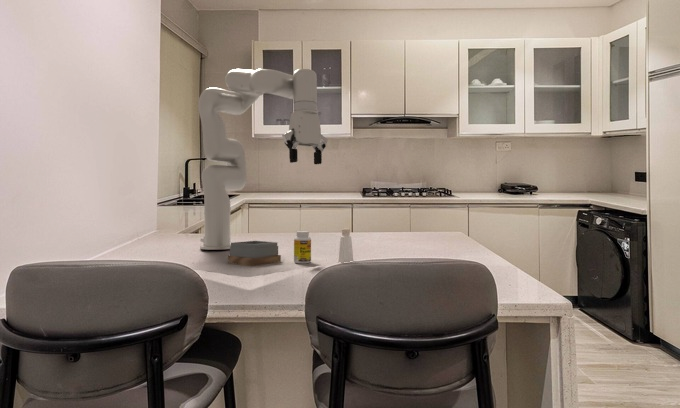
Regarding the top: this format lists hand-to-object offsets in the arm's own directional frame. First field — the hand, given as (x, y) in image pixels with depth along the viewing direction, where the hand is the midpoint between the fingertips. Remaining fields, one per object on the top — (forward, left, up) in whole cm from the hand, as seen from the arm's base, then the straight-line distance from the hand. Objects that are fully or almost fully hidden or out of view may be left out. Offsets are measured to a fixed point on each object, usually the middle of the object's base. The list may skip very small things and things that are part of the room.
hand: (305, 163), depth 146 cm
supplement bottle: (-3, +2, -32) cm, 33 cm away
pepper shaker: (+7, +12, -32) cm, 35 cm away
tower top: (-16, -7, -30) cm, 35 cm away
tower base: (-16, -7, -33) cm, 37 cm away
